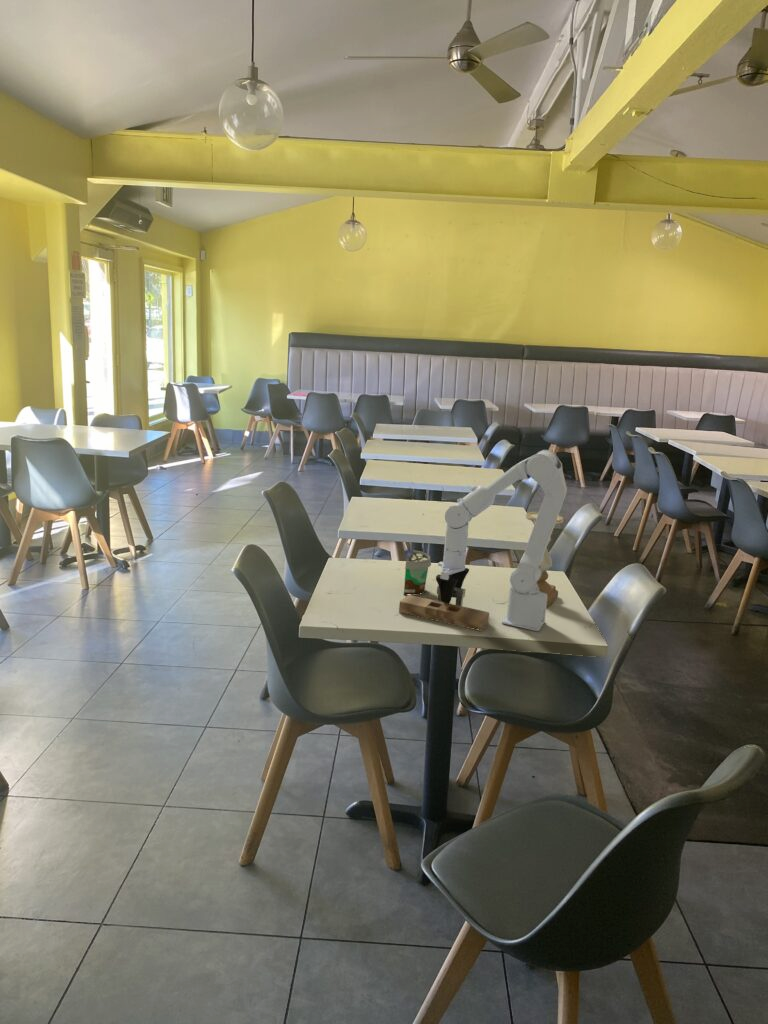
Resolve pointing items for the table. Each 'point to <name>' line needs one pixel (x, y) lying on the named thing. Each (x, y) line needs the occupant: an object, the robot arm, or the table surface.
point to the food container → (416, 572)
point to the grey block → (455, 595)
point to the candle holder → (545, 566)
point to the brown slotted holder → (444, 612)
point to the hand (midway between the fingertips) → (450, 598)
